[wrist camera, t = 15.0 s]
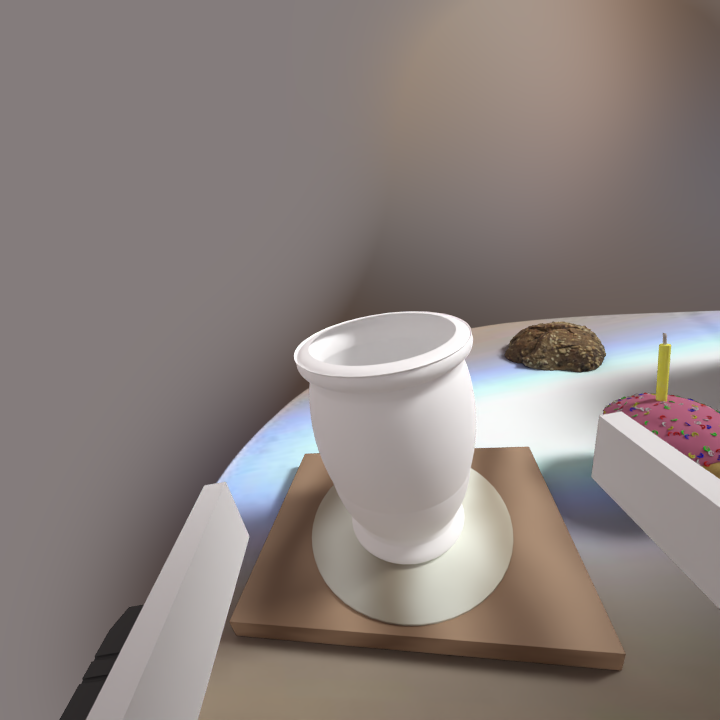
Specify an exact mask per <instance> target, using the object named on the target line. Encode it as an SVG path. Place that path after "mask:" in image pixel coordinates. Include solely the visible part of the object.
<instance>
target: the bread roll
mask: <svg viewBox="0 0 720 720" xmlns="http://www.w3.org/2000/svg"><path fill="white" fill-rule="evenodd" d="M509 345H510V346H509V348H508V349H507V351H506V353H505V357H506V358H507V359H508V360H510V361H513V362H516V363H523V364H524V365H525V366H527V367H529V368H533V369H542V370H568V371H574V372H583V371H591V370H595V369H597V368H598V367H599V366H600V365H601V364H602V362H603V360H604V357H605V356H606V353H605V349H604V346H603V345H602V344H601V341H600V339H599V338H598V337H597V336H596V334H595V333H593V332H592V331H591V329H587V327H586V326H580V325H576V324H571V323H565V322H552V323H546V324H543V323H541V324H538V325H532V326H529V327H528V328H525V329H523V330H521V331H520V332H519V333H518V334H517V335H515V336H514V337H513V339H512V340H511V341H510V343H509Z"/></svg>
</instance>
